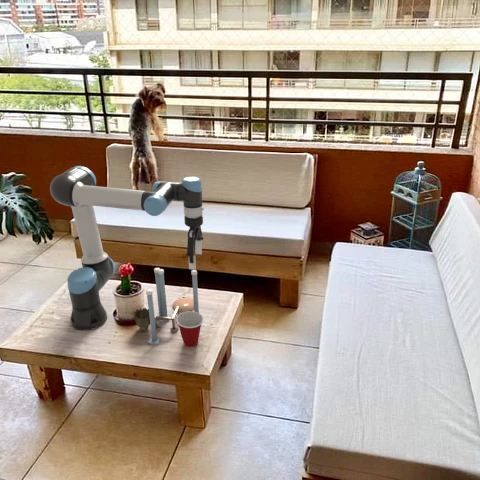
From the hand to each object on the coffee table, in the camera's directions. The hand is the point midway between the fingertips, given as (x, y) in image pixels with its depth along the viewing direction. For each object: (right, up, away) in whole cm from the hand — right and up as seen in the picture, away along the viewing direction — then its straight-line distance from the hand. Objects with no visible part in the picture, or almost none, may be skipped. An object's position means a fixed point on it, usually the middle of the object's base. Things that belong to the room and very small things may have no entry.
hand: (195, 261), depth 190 cm
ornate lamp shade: (-22, -29, 0) cm, 36 cm away
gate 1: (-15, -29, -1) cm, 33 cm away
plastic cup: (-1, -33, -9) cm, 34 cm away
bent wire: (-12, -27, +3) cm, 30 cm away
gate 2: (-8, -25, +7) cm, 27 cm away
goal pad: (-7, -21, +16) cm, 27 cm away
